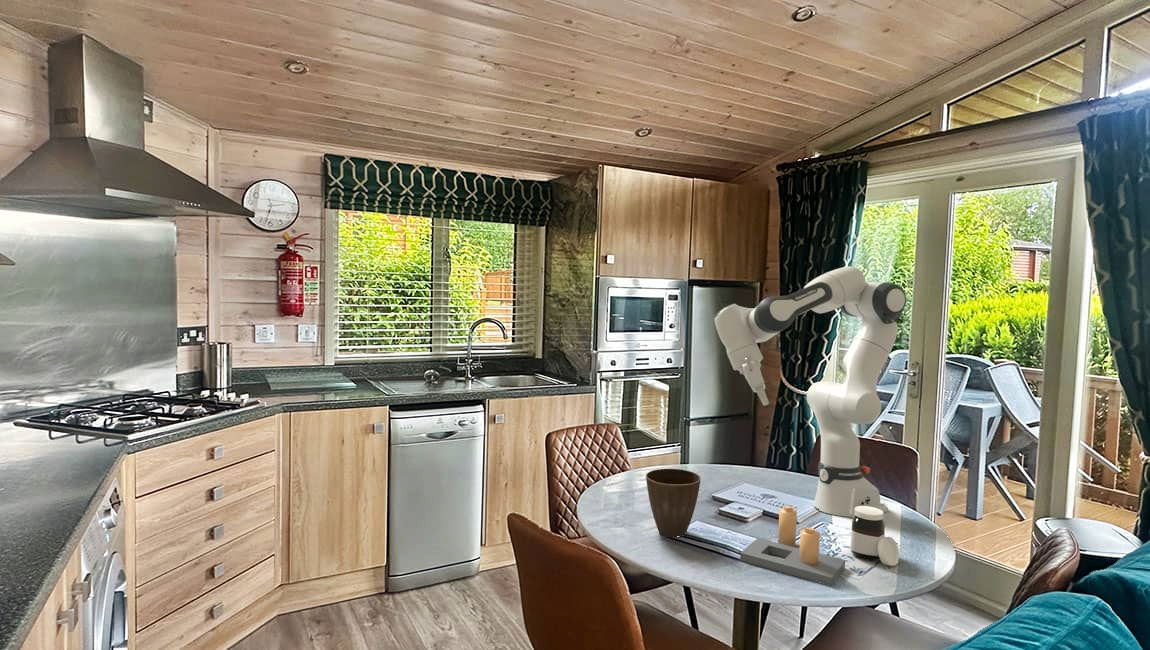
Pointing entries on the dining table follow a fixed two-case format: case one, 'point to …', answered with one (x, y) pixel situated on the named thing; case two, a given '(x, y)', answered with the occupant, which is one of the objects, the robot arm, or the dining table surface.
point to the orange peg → (787, 526)
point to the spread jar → (872, 537)
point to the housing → (796, 558)
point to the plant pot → (672, 499)
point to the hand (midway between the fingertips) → (766, 404)
